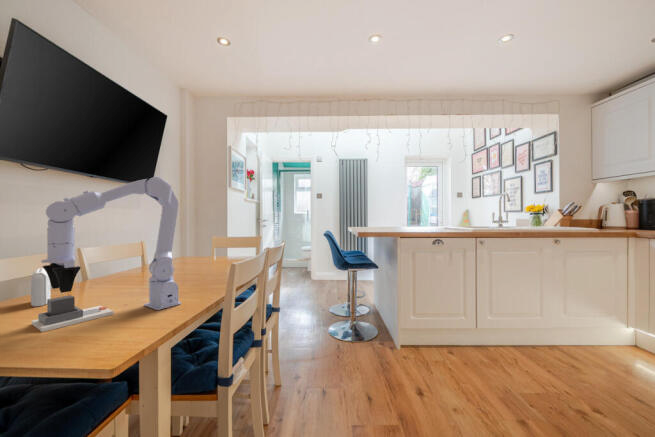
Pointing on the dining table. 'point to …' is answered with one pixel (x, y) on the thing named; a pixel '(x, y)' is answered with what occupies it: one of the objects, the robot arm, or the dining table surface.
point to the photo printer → (40, 287)
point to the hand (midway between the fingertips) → (61, 289)
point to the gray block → (60, 305)
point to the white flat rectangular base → (70, 317)
